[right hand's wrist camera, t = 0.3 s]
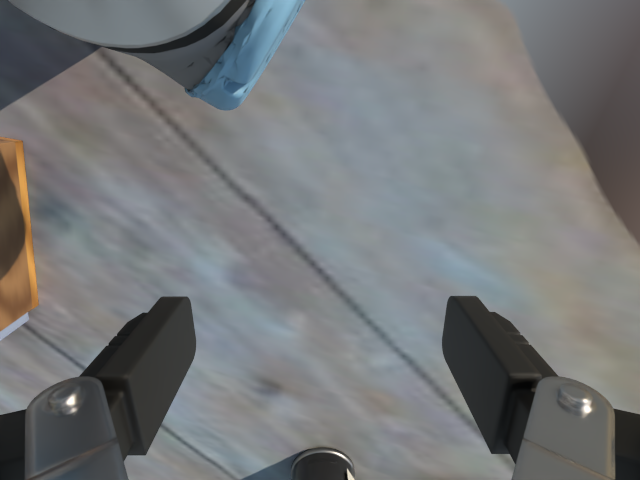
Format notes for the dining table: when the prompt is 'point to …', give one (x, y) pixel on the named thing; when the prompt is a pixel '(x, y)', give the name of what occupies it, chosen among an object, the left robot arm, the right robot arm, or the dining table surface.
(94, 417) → the right robot arm
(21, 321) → the drawer
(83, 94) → the dining table surface
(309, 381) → the dining table surface
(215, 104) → the left robot arm
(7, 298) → the cabinet
